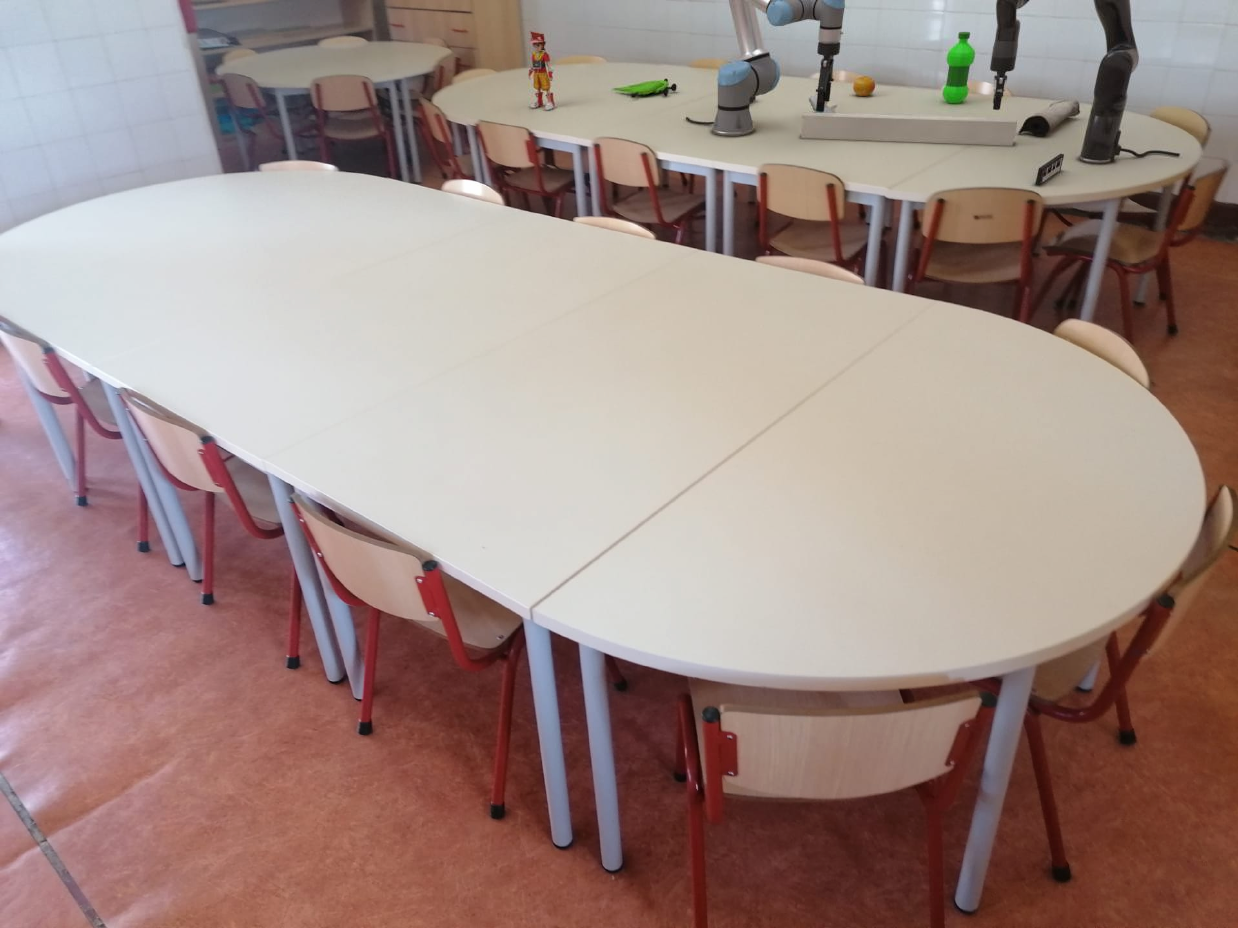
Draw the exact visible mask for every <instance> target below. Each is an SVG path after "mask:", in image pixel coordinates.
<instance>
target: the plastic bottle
mask: <svg viewBox="0 0 1238 928" xmlns="http://www.w3.org/2000/svg"><path fill="white" fill-rule="evenodd" d="M970 36H971V32H970V31H959V32H958V36H957V39H958V42H957V43H956V44H954V45H953V46H952V47H951V48H950V49H949V50H948V52H947V54H946V63H947V64H948V69H947V70H948V71H947V76H946V77H947V78H946V84H945V85H944V87H943V90H942V97H943V99H944V100H945V101H946V102H947V103H948V104H960V103H961V102H963V101H964V100H966V98H967V96H968V95H969V85H968V79H969V73H970V67H971V65H972V64H973V63H974V61H975V57H976V51H975V49H974V47H972V45H971V44H970V43H969V42H968V41H969V39H970V38H971V37H970Z"/></svg>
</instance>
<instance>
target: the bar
mask: <svg viewBox="0 0 1238 928" xmlns="http://www.w3.org/2000/svg"><path fill="white" fill-rule="evenodd" d="M801 123H802V124H801V135H800V136H801V137H800V138H801V139H820V140H821V139H822V140H847V141H848V140H849V141H871V142H872V141H875V142H876V141H877V142H898V143H899V142H900V143H901V142H903V143H926V144H927V143H928V144H929V143H930V144H931V143H932V144H955V145H958V144H959V145H982V146H983V145H984V146H985V145H986V146H1007V147H1008V146H1009V147H1010V146H1011V147H1012V146H1013V145H1014V142H1015V136H1016V132H1017V127H1018V118H1014V117H1010V118H1009V117H980V116H979V117H977V116H975V117H974V116H943V115H942V116H941V115H909V114H908V115H905V114H876V113H875V114H874V113H873V114H872V113H870V114H869V113H841V112H839V113H838V112H837V113H836V112H835V113H818V112H804V113H803V114H802V122H801Z"/></svg>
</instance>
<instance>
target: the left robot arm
mask: <svg viewBox="0 0 1238 928" xmlns="http://www.w3.org/2000/svg"><path fill="white" fill-rule="evenodd" d="M728 3H729V7H730V8H729V9H730V12H731V16H732V17H731V18H732V21H733V25H734V26H733V27H734V29H735V35H736V38H737V43H738V47H739V51H740V52H739V53H740V58H739V60H738V61H731V62H728V63H724V64H723V65H722V66H720V67H719V68H718V73H717V74H718V75H717V111H716V114H715V118H714V120H713V121H698V120H694V119H691V118H690V117H688V116H686V117H685V119H686V120H687V121H688V122H689V123H692V124H697V125H706V126H709V125H712V133H713V134H715V135H717V136H721V137H741V136H746V135H750V134H752V133H754V119H753V118H752V115H751V111H750V103H749V98H751V97H755V96H756V97H758V96H761V95H766V94H768V93H769V92H772V91H774V90H775V89H776V88H777V86H778V84H779V82H780V77H781V69H780V66H779V64H778V62H777V61H776V60H775V59H774V58H771V54H770V51H769V50H768V49H766V48H765V46H764V42H763V37H762V32H761V29H760V24H759V19H758V15H757V10H756V9H758V11H761V12H762V13H763V14H765V15H766V18H767V19H766V20H767V21H768V22H769V24H770V25H771V26H773V27H785V26H786V25H790V24H794V23H799V22H803V21H807V20H810V21H818V22H819V29H818V37H817V38H818V41H819V42H818V43H817V51H816V52H817V54H818V55H819V56H823V57H822V59H821V61H820V70H819V77H818V85H817V88H816V89H815V92H816V93H817V92H818V95H817V105H816V111H818V112H824V106H825V101H827V103H829V102H830V100H831V90H832V82H834V80H835V78H833V77H834V76H833V74H834V63H835V62H834V61H835V59H834V57H835V56H838V55H839V54H840V52H841V51H840V50H841V42H840V41H841V40H842V35H844V30H843V21H844V14H845V8H846V0H728ZM816 111H815V112H816ZM818 112H817V113H818Z"/></svg>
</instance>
